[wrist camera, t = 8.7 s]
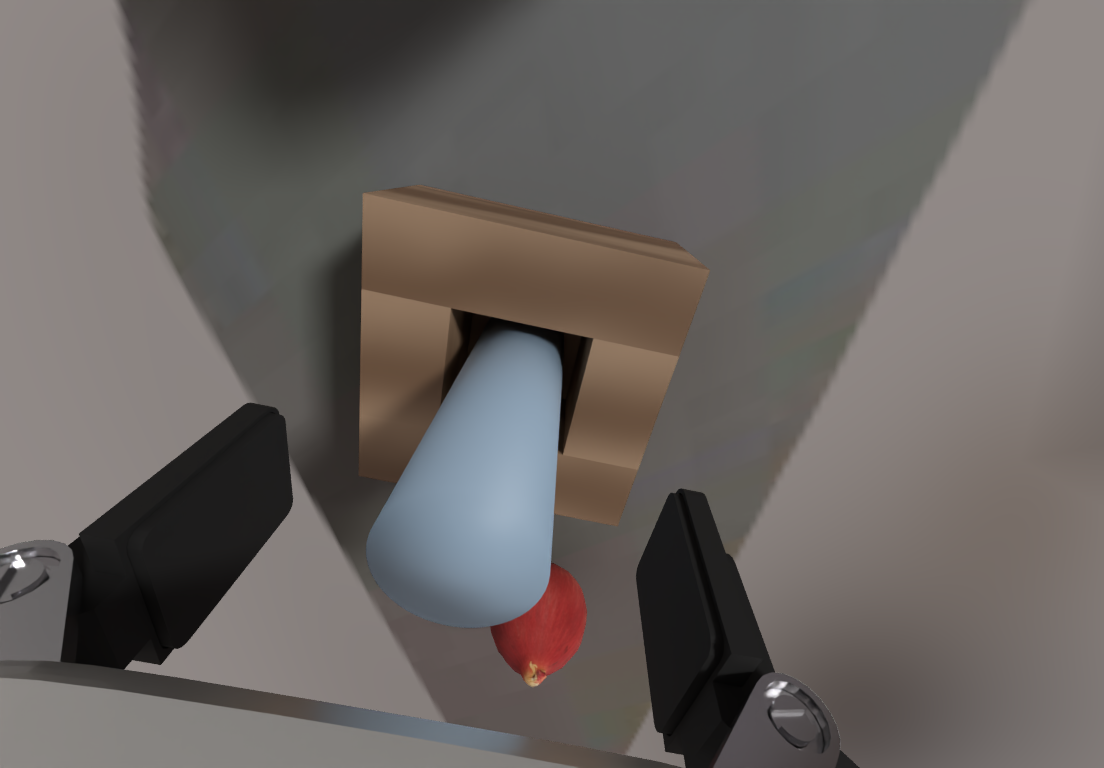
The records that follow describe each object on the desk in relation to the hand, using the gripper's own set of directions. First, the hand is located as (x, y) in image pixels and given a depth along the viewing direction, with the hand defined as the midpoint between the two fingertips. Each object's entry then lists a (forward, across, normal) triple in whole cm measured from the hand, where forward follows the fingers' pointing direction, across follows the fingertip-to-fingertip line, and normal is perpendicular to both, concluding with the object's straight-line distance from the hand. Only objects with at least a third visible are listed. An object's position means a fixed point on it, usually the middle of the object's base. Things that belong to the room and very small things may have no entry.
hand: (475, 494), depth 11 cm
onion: (+13, -4, +17) cm, 22 cm away
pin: (+12, 0, +1) cm, 12 cm away
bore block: (+13, 0, +1) cm, 13 cm away
